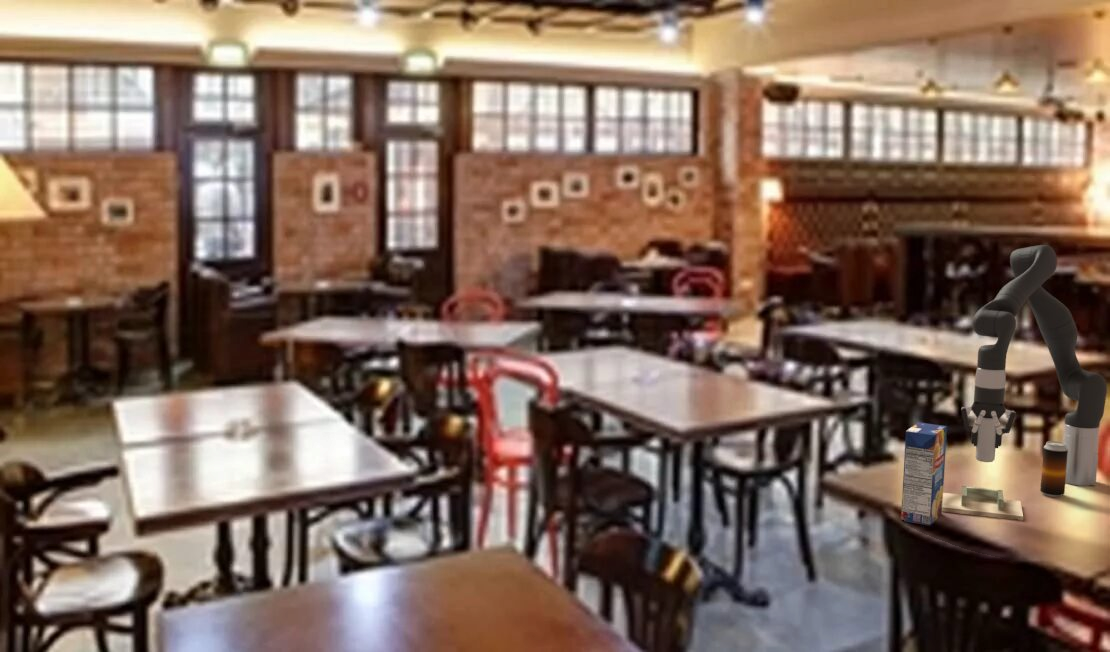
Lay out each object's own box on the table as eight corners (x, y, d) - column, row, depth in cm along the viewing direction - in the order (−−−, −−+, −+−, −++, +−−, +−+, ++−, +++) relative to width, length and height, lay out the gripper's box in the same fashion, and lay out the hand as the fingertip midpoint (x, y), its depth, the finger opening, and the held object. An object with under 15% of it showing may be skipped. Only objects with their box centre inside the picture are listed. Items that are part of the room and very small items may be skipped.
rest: (1020, 505, 292) (1021, 490, 291) (1022, 520, 279) (1024, 505, 278) (942, 496, 299) (943, 482, 298) (941, 511, 286) (942, 496, 285)
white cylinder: (972, 458, 289) (975, 414, 287) (989, 457, 289) (992, 414, 288) (980, 462, 284) (983, 419, 282) (997, 462, 285) (1001, 418, 283)
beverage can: (1062, 492, 303) (1066, 441, 301) (1065, 499, 297) (1069, 447, 295) (1039, 490, 305) (1042, 439, 303) (1041, 496, 299) (1045, 444, 297)
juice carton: (913, 508, 288) (918, 422, 284) (941, 513, 284) (947, 426, 280) (900, 520, 278) (905, 431, 274) (929, 525, 274) (935, 435, 270)
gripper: (1018, 384, 285) (1014, 445, 287) (961, 380, 290) (957, 440, 292) (1019, 389, 278) (1015, 452, 280) (961, 385, 283) (957, 447, 285)
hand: (985, 446), depth 286 cm, fingers closed on white cylinder, 5 cm apart
